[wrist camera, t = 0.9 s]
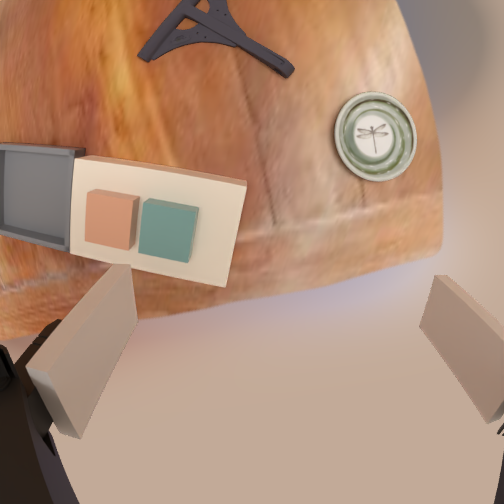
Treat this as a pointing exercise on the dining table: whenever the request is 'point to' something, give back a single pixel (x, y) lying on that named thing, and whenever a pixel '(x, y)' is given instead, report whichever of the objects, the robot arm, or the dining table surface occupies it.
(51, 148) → the tray
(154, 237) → the green glazed tile
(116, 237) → the terracotta tile
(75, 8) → the dining table surface
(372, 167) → the saucer
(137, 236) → the cream board
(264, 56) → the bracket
